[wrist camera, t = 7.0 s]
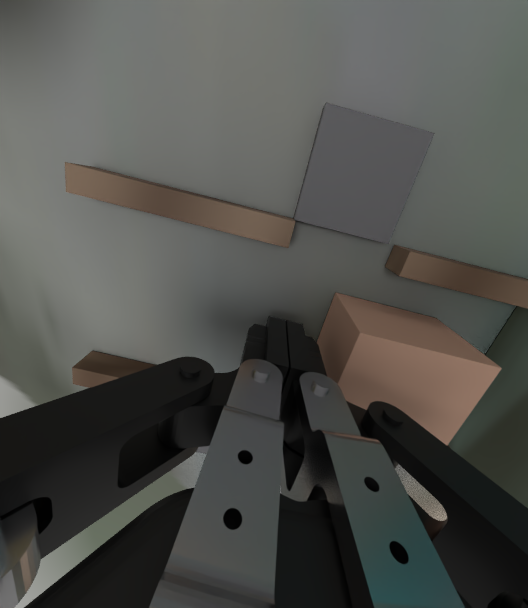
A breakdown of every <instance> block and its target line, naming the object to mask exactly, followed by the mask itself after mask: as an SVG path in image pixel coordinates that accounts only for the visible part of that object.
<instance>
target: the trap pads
mask: <svg viewBox="0 0 528 608" xmlns="http://www.w3.org/2000/svg"><path fill="white" fill-rule="evenodd" d="M434 134H435V133H432V132H429V131H425V130H422V129H418V128H414V127H411V126H407V125H404V124H400V123H397V122H393V121H390V120H386V119H382V118H379V117H375V116H372V115H368V114H365V113H361V112H358V111H354V110H350V109H347V108H343V107H340V106H336V105H333V104H329V103H326V104H325V106H324V108H323V111H322V115H321V118H320V122H319V126H318V129H317V133H316V137H315V140H314V144H313V148H312V151H311V155H310V159H309V163H308V166H307V170H306V174H305V177H304V181H303V185H302V188H301V192H300V196H299V199H298V203H297V207H296V210H295V214H294V218H293V219H294V220H297V221H301V222H305V223H309V224H312V225H316V226H320V227H324V228H328V229H332V230H336V231H339V232H343V233H347V234H351V235H355V236H359V237H363V238H367V239H370V240H374V241H378V242H382V243H386V244H389V242H390V240H391V237H392V235H393V232H394V230H395V228H396V225H397V223H398V220H399V218H400V216H401V213H402V211H403V208H404V206H405V203H406V201H407V199H408V196H409V194H410V191H411V189H412V187H413V184H414V182H415V179H416V177H417V175H418V172H419V170H420V167H421V165H422V162H423V160H424V158H425V155H426V153H427V150H428V148H429V146H430V143H431V141H432V138H433V136H434ZM208 449H209V446H204V447H198V449H197V451H196V452H200V453H205V454H207V452H208Z"/></svg>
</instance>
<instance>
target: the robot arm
mask: <svg viewBox="0 0 528 608" xmlns="http://www.w3.org/2000/svg"><path fill="white" fill-rule="evenodd" d="M204 446H209V449H208V452H207V455H206V457H205V460H204V463H203V466H202V468H201V471H200V474H199V477H198V480H197V482H196V485H195V488H190V489H186V490H183V491H180V492H177V493H174V494H172V495H170V496H168V497H166V498H164V499H162V500H160V501H158V502H157V503H155V504H154V505H152V506H151V507H150V508H148V509H147V510H145V511H144V512H143V513H141V514H140V515H139V516H138V517H136V518H135V519H134V520H133V521H131V522H130V523H129V524H128V525H126V526H125V527H124V528H123V529H121V530H120V531H119V532H118V533H117V534H115V535H114V536H113V537H111V538H110V539H109V540H108V541H106V542H105V543H104V544H103V545H101V546H100V547H99V548H98V549H97V550H95V551H94V552H93V553H91V554H90V555H89V556H88V557H87V558H85V559H84V560H83V561H82V562H80V563H79V564H78V565H77V566H76V567H74V568H73V569H72V570H70V571H69V572H68V573H67V574H65V575H64V576H63V577H62V578H60V579H59V580H58V581H57V582H56V583H54V584H53V585H52V586H50V587H49V588H48V589H47V590H45V591H44V592H43V593H42V594H40V595H39V596H38V597H37V598H35V599H34V600H33V601H32V602H30V603H29V604H28V605H27V606H26V607H24V608H528V508H527V507H525V506H524V505H523V504H522V503H520V502H519V501H518V500H516V499H515V498H514V497H513V496H511V495H510V494H509V493H507V492H506V491H505V490H504V489H502V488H501V487H500V486H498V485H497V484H496V483H494V482H493V481H492V480H491V479H489V478H488V477H487V476H485V475H484V474H483V473H482V472H480V471H479V470H478V469H476V468H475V467H474V466H473V465H471V464H470V463H469V462H467V461H466V460H465V459H464V458H462V457H461V456H460V455H458V454H457V453H456V452H454V451H453V450H452V449H451V448H449V447H448V446H447V445H445V444H444V443H443V442H442V441H440V440H439V439H438V438H436V437H435V436H434V435H433V434H431V433H430V432H429V431H427V430H426V429H425V428H424V427H422V426H421V425H420V424H418V423H417V422H416V421H414V420H413V419H412V418H411V417H409V416H408V415H407V414H405V413H404V412H403V411H401V410H400V409H399V408H397V407H395V406H393V405H391V404H389V403H386V402H382V401H374V402H372V403H370V404H369V406H368V408H367V410H365V409H363V408H361V407H359V406H356V405H354V404H352V403H350V402H348V401H346V400H345V397H344V395H343V393H342V391H341V389H340V387H339V386H338V384H337V383H336V382H335V381H333V380H332V379H331V378H329V377H327V373H326V370H325V366H324V363H323V360H322V356H321V354H320V349H319V345H318V344H317V343H316V342H315V341H314V339H313V338H311V337H307V336H305V333H304V328H303V324H300V323H295V322H291V321H287V320H286V321H285V320H283V319H279V318H275V317H271V316H269V317H268V320H267V324H266V326H261V325H257V324H254V325H253V326H252V327H250V328H249V331H248V335H247V339H246V343H245V347H244V351H243V354H242V359H241V363H240V367H239V368H238V369H236V370H234V371H232V372H228V373H214V369H213V367H212V366H211V365H210V364H209V363H208V362H206V361H204V360H202V359H199V358H195V357H181V358H177V359H174V360H171V361H168V362H165V363H162V364H159V365H156V366H153V367H150V368H147V369H144V370H141V371H138V372H135V373H132V374H129V375H126V376H124V377H121V378H118V379H115V380H112V381H109V382H106V383H103V384H100V385H97V386H94V387H91V388H88V389H85V390H82V391H79V392H76V393H73V394H70V395H68V396H65V397H62V398H59V399H56V400H53V401H50V402H47V403H44V404H41V405H38V406H35V407H32V408H29V409H27V410H23V411H20V412H17V413H15V414H12V415H9V416H6V417H3V418H0V608H14V607H15V606H16V605H17V604H18V603H19V602H20V600H21V599H22V598H23V597H24V595H25V594H26V593H27V591H28V589H29V588H30V586H31V585H32V583H33V581H34V579H35V577H36V575H37V572H38V569H39V566H40V561H41V559H42V558H43V557H45V556H46V555H48V554H49V553H50V552H52V551H53V550H55V549H56V548H58V547H59V546H61V545H62V544H64V543H65V542H66V541H68V540H70V539H71V538H72V537H74V536H75V535H77V534H78V533H80V532H81V531H83V530H84V529H85V528H87V527H88V526H90V525H91V524H93V523H94V522H96V521H97V520H99V519H100V518H102V517H103V516H105V515H106V514H107V513H109V512H110V511H112V510H113V509H114V508H116V507H118V506H119V505H120V504H122V503H123V502H125V501H126V500H128V499H129V498H131V497H132V496H133V495H135V494H137V493H138V492H139V491H141V490H142V489H144V488H145V487H147V486H148V485H149V484H151V483H153V482H154V481H155V480H157V479H158V478H160V477H161V476H163V475H164V474H166V473H167V472H169V471H170V470H171V469H173V468H174V467H176V466H177V465H179V464H180V463H182V462H183V461H185V460H186V459H187V458H189V457H190V456H192V455H193V454H194V453H195V452H196V451H197V449H198V447H204ZM398 464H400V465H401V466H402V467H403V468H404V469H405V470H406V471H407V472H408V473H409V474H410V475H411V476H412V477H413V478H415V479H416V480H417V481H418V482H419V483H420V484H421V485H422V486H423V487H424V488H425V489H426V490H427V491H428V492H430V493H431V494H432V495H433V496H434V497H435V498H436V499H437V500H438V501H439V502H440V503H441V504H442V506H443V507H444V509H445V511H446V513H447V517H448V518H447V519H446V520H445V521H438V520H435V519H434V518H432V517H431V516H429V515H428V514H427V513H426V512H425V511H424V510H423V509H422V508H421V507H420V506H419V505H418V504H417V503H416V502H415V501H414V500H413V499H412V498H411V497H410V496H409V495H408V494H407V492H406V490H405V488H404V486H403V484H402V482H401V480H400V478H399V476H398V474H397V472H396V470H395V468H396V466H397V465H398ZM280 485H281V494H280Z"/></svg>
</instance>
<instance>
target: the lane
mask: <svg viewBox="0 0 528 608" xmlns="http://www.w3.org/2000/svg"><path fill="white" fill-rule="evenodd" d="M65 178H66V192H69V193H73V194H77V195H81V196H85V197H89V198H92V199H96V200H100V201H104V202H108V203H112V204H116V205H120V206H124V207H128V208H132V209H136V210H140V211H144V212H148V213H152V214H156V215H160V216H164V217H168V218H172V219H176V220H179V221H183V222H187V223H191V224H195V225H199V226H203V227H207V228H211V229H215V230H219V231H223V232H227V233H231V234H235V235H239V236H243V237H247V238H251V239H255V240H259V241H263V242H266V243H270V244H274V245H278V246H282V247H286V248H288V247H289V244H290V240H291V237H292V233H293V229H294V226H295V220H294V219H293V218H289V217H285V216H281V215H277V214H273V213H269V212H266V211H262V210H258V209H254V208H250V207H246V206H242V205H238V204H235V203H231V202H227V201H223V200H219V199H215V198H211V197H207V196H204V195H200V194H196V193H192V192H188V191H184V190H180V189H177V188H173V187H169V186H165V185H161V184H157V183H153V182H149V181H146V180H142V179H138V178H134V177H130V176H126V175H122V174H118V173H115V172H111V171H107V170H103V169H99V168H95V167H91V166H85V165H79V164H73V163H67V162H65ZM385 267H386V268H387V269H389V270H391V271H392V272H394V273H395V274H397V275H398V276H401V277H405V278H409V279H413V280H417V281H421V282H425V283H429V284H433V285H437V286H440V287H444V288H448V289H452V290H456V291H460V292H464V293H468V294H472V295H476V296H480V297H484V298H488V299H492V300H496V301H500V302H504V303H508V304H512V305H516V306H517V307H516V309H515V310H514V312H513V313H512V315H511V317H510V318H509V320H508V321H507V323H506V324H505V326H504V327H503V329H502V330H501V332H500V333H499V335H498V336H497V338H496V340H495V341H494V343H493V344H492V346H491V347H490V349H489V350H488V352H487V353H486V355H485V356H487V357H488V358H489V359H490V360H492V361H493V362H494V363H496V364H497V365H498V366H500V367H501V368H502V369H501V370H500V372H499V373H498V375H497V376H496V377H495V379H494V380H493V382H492V383H491V385H490V386H489V387H488V389H487V390H486V392H485V393H484V394H483V396H482V397H481V399H480V400H479V401H478V403H477V404H476V406H475V407H474V409H473V410H472V411H471V413H470V414H469V416H468V417H467V418H466V420H465V421H464V423H463V424H462V425H461V427H460V428H459V430H458V431H457V433H456V434H455V435H454V437H453V438H452V440H451V441H450V442H449V444H448V445H447V446H448V447H449V448H451V449H452V450H453V451H454V452H456V453H457V454H458V455H460V456H461V457H462V458H464V459H465V460H466V461H467V462H469V463H470V464H471V465H473V466H474V467H475V468H476V469H478V470H479V471H480V472H482V473H483V474H484V475H485V476H487V477H488V478H489V479H491V480H492V481H493V482H494V483H496V484H497V485H498V486H500V487H501V488H502V489H504V490H505V491H506V492H507V493H509V494H510V495H511V496H513V497H514V498H515V499H516V500H518V501H519V502H520V503H522V504H523V505H524V506H525V507H527V508H528V279H525V278H521V277H517V276H513V275H509V274H505V273H502V272H498V271H494V270H490V269H486V268H482V267H478V266H475V265H471V264H467V263H463V262H459V261H455V260H451V259H447V258H444V257H440V256H436V255H432V254H428V253H424V252H420V251H416V250H413V249H409V248H405V247H401V246H397V245H394V247H393V249H392V251H391V254H390V256H389V258H388V261H387V263H386V265H385ZM153 366H156V365H153V364H148V363H144V362H139V361H135V360H131V359H126V358H122V357H117V356H113V355H109V354H104V353H100V352H95V351H91V352H90V353H89V354H88V355H87V356H85V357H84V358H83V359H82V360H81V361H79V362H78V363H77V364H76V365H75V366H73V367H72V373H73V384H76V385H80V386H85V387H89V388H91V387H94V386H97V385H100V384H103V383H106V382H109V381H112V380H115V379H118V378H121V377H124V376H126V375H129V374H132V373H135V372H138V371H141V370H144V369H147V368H150V367H153Z"/></svg>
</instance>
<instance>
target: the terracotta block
mask: <svg viewBox="0 0 528 608" xmlns="http://www.w3.org/2000/svg"><path fill="white" fill-rule="evenodd" d="M317 344H318V345H319V349H320V354H321V356H322V360H323V363H324V366H325V370H326V373H327V377H329V378H331V379H332V380H333V381H335V382H336V383H337V384H338V386H339V387H340V389H341V391H342V393H343V395H344V397H345V400H346V401H348V402H350V403H352V404H354V405H356V406H359V407H361V408H363V409H365V410H367V408H368V406H369V404H370V403H372V402H374V401H382V402H386V403H389V404H391V405H393V406H395V407H397V408H399V409H400V410H401V411H403V412H404V413H405V414H407V415H408V416H409V417H411V418H412V419H413V420H414V421H416V422H417V423H418V424H420V425H421V426H422V427H424V428H425V429H426V430H427V431H429V432H430V433H431V434H433V435H434V436H435V437H436V438H438V439H439V440H440V441H442V442H443V443H444V444H445V445H448V444H449V442H450V441H451V440H452V438H453V437H454V435H455V434H456V433H457V431H458V430H459V428H460V427H461V425H462V424H463V423H464V421H465V420H466V418H467V417H468V416H469V414H470V413H471V411H472V410H473V409H474V407H475V406H476V404H477V403H478V401H479V400H480V399H481V397H482V396H483V394H484V393H485V392H486V390H487V389H488V387H489V386H490V385H491V383H492V382H493V380H494V379H495V377H496V376H497V375H498V373H499V372H500V370H501V369H502V368H501V367H500V366H498V365H497V364H496V363H494V362H493V361H492V360H490V359H489V358H488V357H487V356H485V355H484V354H483V353H481V352H480V351H479V350H477V349H476V348H475V347H473V346H472V345H471V344H469V343H468V342H467V341H466V340H464V339H463V338H462V337H460V336H459V335H458V334H456V333H455V332H454V331H452V330H451V329H450V328H448V327H447V326H446V325H444V324H443V323H442V322H441V321H439V320H438V319H437V318H433V317H429V316H426V315H422V314H418V313H414V312H410V311H406V310H402V309H398V308H394V307H391V306H387V305H383V304H379V303H375V302H371V301H367V300H363V299H359V298H356V297H352V296H348V295H344V294H340V293H336V292H335V295H334V298H333V300H332V303H331V305H330V308H329V311H328V313H327V316H326V319H325V321H324V324H323V327H322V329H321V332H320V335H319V337H318V340H317Z"/></svg>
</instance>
